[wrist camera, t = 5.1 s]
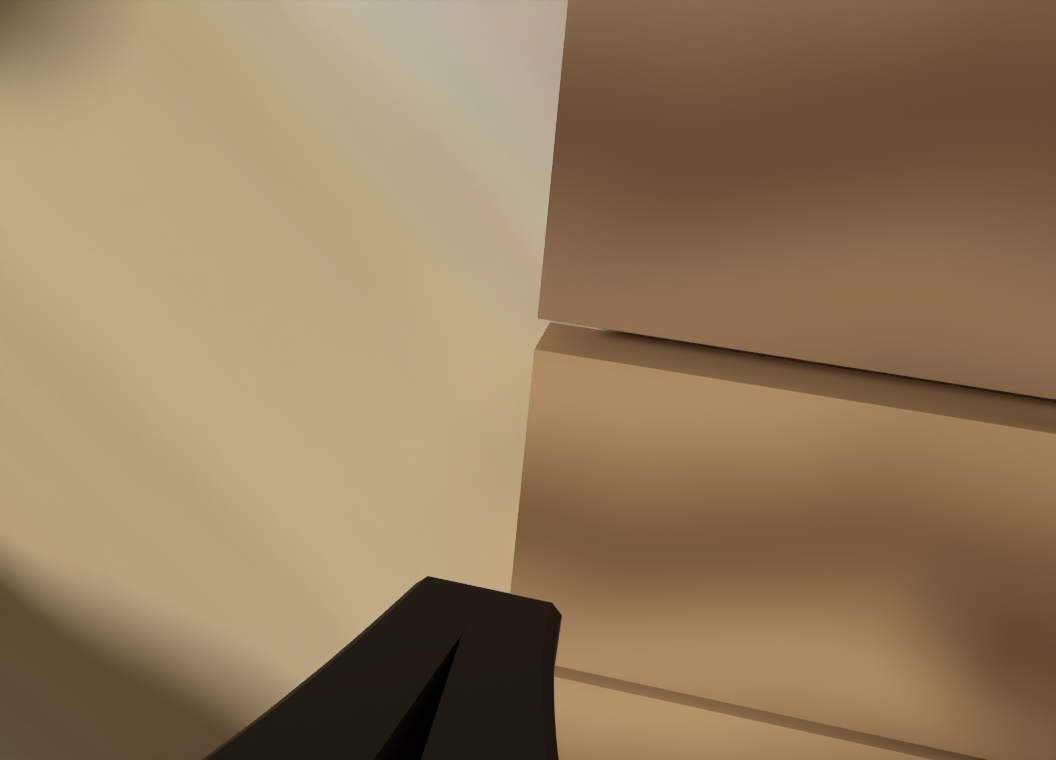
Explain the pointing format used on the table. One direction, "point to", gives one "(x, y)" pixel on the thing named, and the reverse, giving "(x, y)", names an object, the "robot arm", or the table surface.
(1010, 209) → the loose plank
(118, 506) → the table surface
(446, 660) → the robot arm
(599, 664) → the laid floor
